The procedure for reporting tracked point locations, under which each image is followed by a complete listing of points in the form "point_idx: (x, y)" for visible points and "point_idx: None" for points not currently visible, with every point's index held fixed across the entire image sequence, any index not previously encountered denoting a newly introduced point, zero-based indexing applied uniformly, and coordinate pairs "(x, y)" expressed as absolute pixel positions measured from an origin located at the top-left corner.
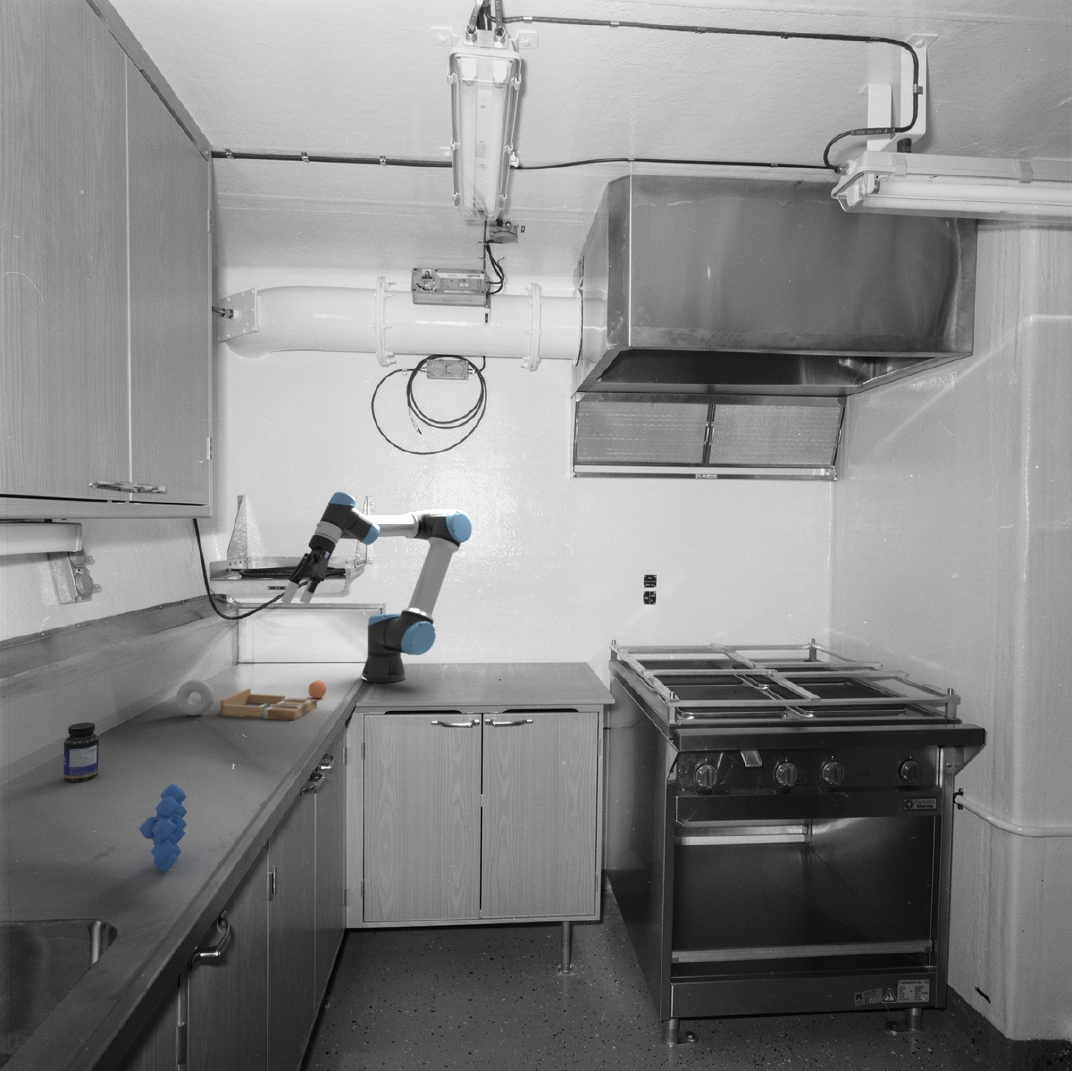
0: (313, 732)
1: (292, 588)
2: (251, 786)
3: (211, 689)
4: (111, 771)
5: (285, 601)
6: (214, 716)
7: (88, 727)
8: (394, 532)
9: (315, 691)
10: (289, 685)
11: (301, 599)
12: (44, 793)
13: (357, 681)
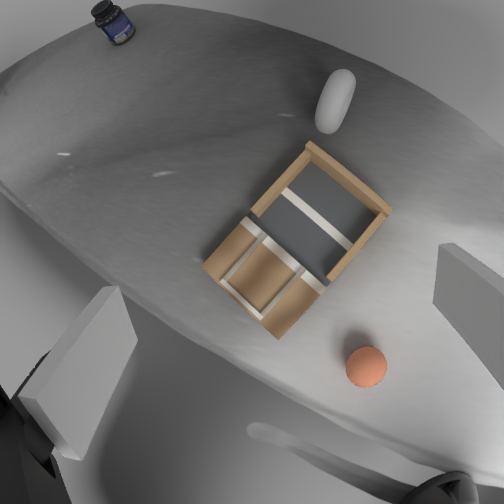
0: (121, 274)
1: (500, 337)
2: (19, 168)
3: (323, 116)
4: (122, 52)
5: (441, 273)
6: None
7: (91, 13)
8: None
9: (349, 358)
10: None
11: (98, 294)
12: None
13: (448, 462)
